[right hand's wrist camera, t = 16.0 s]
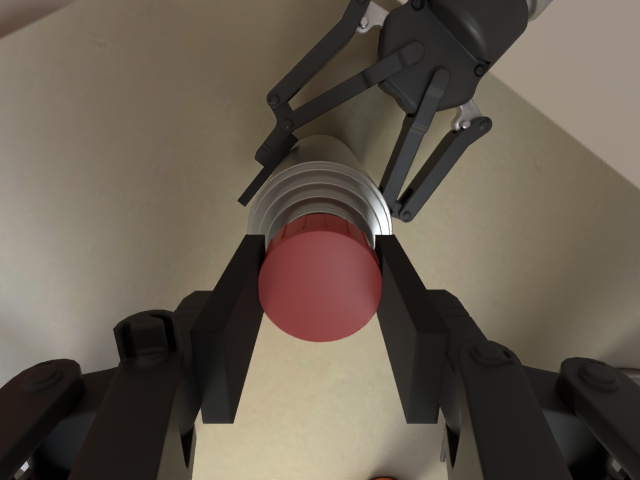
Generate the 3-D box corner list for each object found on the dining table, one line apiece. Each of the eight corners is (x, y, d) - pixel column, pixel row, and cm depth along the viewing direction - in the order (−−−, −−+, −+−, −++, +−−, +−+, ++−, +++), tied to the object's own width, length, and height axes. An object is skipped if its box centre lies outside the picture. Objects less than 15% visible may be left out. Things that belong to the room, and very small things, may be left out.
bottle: (359, 135, 34) (434, 186, 12) (354, 209, 37) (409, 368, 14) (282, 133, 34) (210, 181, 12) (283, 207, 37) (225, 364, 14)
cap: (325, 187, 13) (326, 201, 12) (398, 270, 15) (410, 294, 13) (241, 261, 14) (229, 284, 13) (316, 333, 16) (315, 363, 14)
